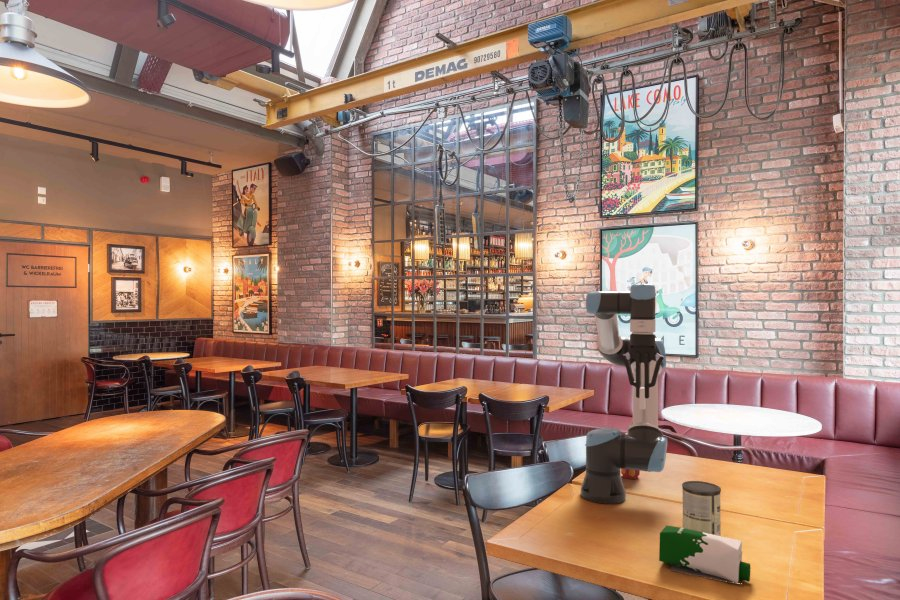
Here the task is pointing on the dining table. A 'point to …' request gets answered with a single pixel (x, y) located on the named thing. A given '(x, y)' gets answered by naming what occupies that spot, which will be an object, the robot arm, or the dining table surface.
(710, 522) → the coffee can
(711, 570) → the soya milk
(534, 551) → the dining table surface
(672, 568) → the mat
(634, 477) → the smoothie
